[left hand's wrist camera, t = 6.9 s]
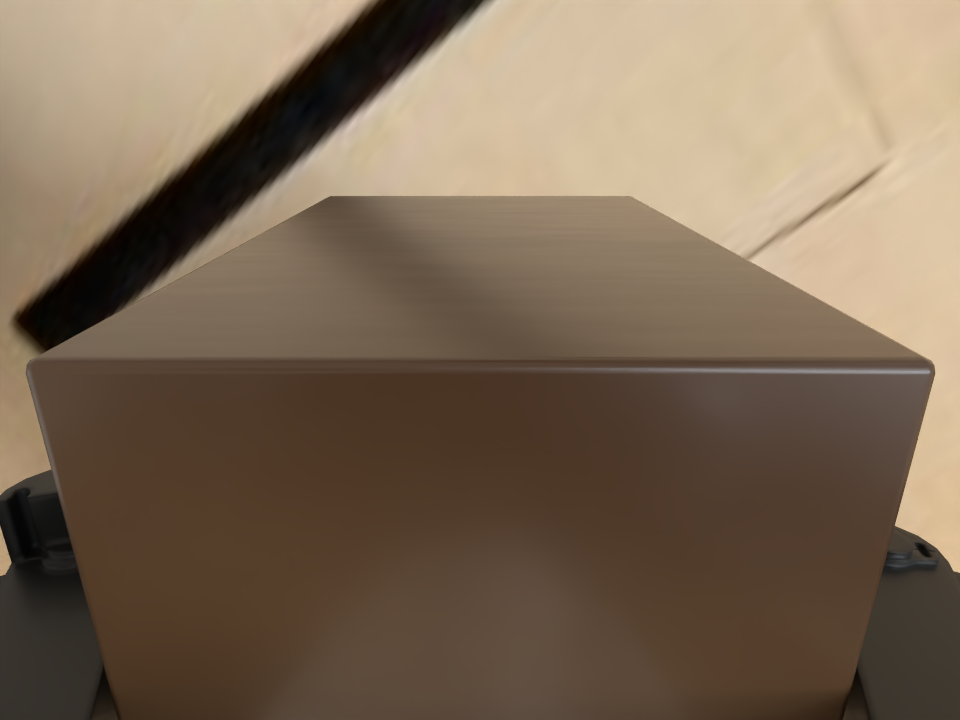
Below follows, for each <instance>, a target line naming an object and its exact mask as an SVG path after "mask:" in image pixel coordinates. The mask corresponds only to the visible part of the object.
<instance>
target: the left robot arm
mask: <svg viewBox="0 0 960 720" xmlns="http://www.w3.org/2000/svg"><path fill="white" fill-rule="evenodd" d="M0 526H1V529H2V533H3V536H4V539H5V542H6V546H7V549H8V552H9V555H10V559H11V562H12V564H11V565H10V567H9V569H8V571H7V573H6V575H3V576H0V720H118V717H117V714H116V710H115V706H114V702H113V699H112V695H111V691H110V687H109V684H108V680H107V676H106V672H105V669H104V665H103V661H102V657H101V653H100V650H99V646H98V642H97V638H96V635H95V631H94V627H93V623H92V620H91V616H90V612H89V608H88V605H87V601H86V597H85V593H84V590H83V586H82V582H81V578H80V574H79V571H78V567H77V563H76V559H75V556H74V552H73V548H72V544H71V541H70V537H69V533H68V529H67V526H66V522H65V518H64V514H63V511H62V507H61V503H60V499H59V495H58V492H57V488H56V484H55V480H54V477H53V473H52V470H49V471H46V472H43V473H40V474H38V475H35V476H32V477H30V478H27V479H25V480H23V481H21V482H19V483H18V484H16V485H14V486H12V487H10V488H9V489H7V490H5V491H4V492H3V493H2V494H1V495H0ZM843 720H960V573H958V572H954V571H953V570H952V568H951V566H950V564H949V562H948V561H947V560H946V559H945V558H944V556H943V555H942V554H941V553H940V552H939V551H938V549H937V548H935V547H934V546H932V545H931V544H929V543H928V542H926V541H925V540H923V539H922V538H920V537H919V536H917V535H915V534H912V533H910V532H908V531H905V530H903V529H901V528H898V527H896V526H894V530H893V533H892V537H891V541H890V545H889V548H888V552H887V556H886V560H885V563H884V567H883V571H882V575H881V578H880V582H879V586H878V590H877V593H876V597H875V601H874V605H873V608H872V612H871V616H870V620H869V623H868V627H867V631H866V635H865V638H864V642H863V646H862V650H861V653H860V657H859V661H858V665H857V668H856V672H855V676H854V679H853V683H852V687H851V691H850V694H849V698H848V702H847V706H846V709H845V713H844V717H843Z"/></svg>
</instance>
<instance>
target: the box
mask: <svg viewBox="0 0 960 720" xmlns="http://www.w3.org/2000/svg"><path fill="white" fill-rule="evenodd" d="M26 375H27V379H28V383H29V386H30V390H31V394H32V398H33V401H34V405H35V409H36V413H37V416H38V420H39V424H40V428H41V432H42V435H43V439H44V443H45V447H46V450H47V454H48V458H49V462H50V465H51V469H52V473H53V477H54V480H55V484H56V488H57V492H58V495H59V499H60V503H61V507H62V511H63V514H64V518H65V522H66V526H67V529H68V533H69V537H70V541H71V544H72V548H73V552H74V556H75V559H76V563H77V567H78V571H79V574H80V578H81V582H82V586H83V590H84V593H85V597H86V601H87V605H88V608H89V612H90V616H91V620H92V623H93V627H94V631H95V635H96V638H97V642H98V646H99V650H100V653H101V657H102V661H103V665H104V669H105V672H106V676H107V680H108V684H109V687H110V691H111V695H112V699H113V702H114V706H115V710H116V714H117V717H118V720H843V717H844V713H845V709H846V706H847V702H848V698H849V694H850V691H851V687H852V683H853V679H854V676H855V672H856V668H857V665H858V661H859V657H860V653H861V650H862V646H863V642H864V638H865V635H866V631H867V627H868V623H869V620H870V616H871V612H872V608H873V605H874V601H875V597H876V593H877V590H878V586H879V582H880V578H881V575H882V571H883V567H884V563H885V560H886V556H887V552H888V548H889V545H890V541H891V537H892V533H893V530H894V526H895V522H896V518H897V515H898V511H899V507H900V503H901V500H902V496H903V492H904V488H905V485H906V481H907V477H908V473H909V470H910V466H911V462H912V458H913V455H914V451H915V447H916V443H917V440H918V436H919V432H920V428H921V425H922V421H923V417H924V413H925V410H926V406H927V402H928V398H929V395H930V391H931V387H932V383H933V380H934V376H935V368H934V364H933V363H932V361H931V360H929V359H927V358H925V357H923V356H922V355H920V354H918V353H916V352H914V351H912V350H911V349H909V348H907V347H905V346H903V345H901V344H900V343H898V342H896V341H894V340H892V339H890V338H889V337H887V336H885V335H883V334H881V333H880V332H878V331H876V330H874V329H872V328H870V327H869V326H867V325H865V324H863V323H861V322H859V321H858V320H856V319H854V318H852V317H850V316H848V315H847V314H845V313H843V312H841V311H839V310H837V309H836V308H834V307H832V306H830V305H828V304H826V303H825V302H823V301H821V300H819V299H817V298H816V297H814V296H812V295H810V294H808V293H806V292H805V291H803V290H801V289H799V288H797V287H795V286H794V285H792V284H790V283H788V282H786V281H784V280H783V279H781V278H779V277H777V276H775V275H773V274H772V273H770V272H768V271H766V270H764V269H763V268H761V267H759V266H757V265H755V264H753V263H752V262H750V261H748V260H746V259H744V258H742V257H741V256H739V255H737V254H735V253H733V252H731V251H730V250H728V249H726V248H724V247H722V246H720V245H719V244H717V243H715V242H713V241H711V240H709V239H708V238H706V237H704V236H702V235H700V234H699V233H697V232H695V231H693V230H691V229H689V228H688V227H686V226H684V225H682V224H680V223H678V222H677V221H675V220H673V219H671V218H669V217H667V216H666V215H664V214H662V213H660V212H658V211H656V210H655V209H653V208H651V207H649V206H647V205H646V204H644V203H642V202H640V201H638V200H636V199H635V198H633V197H630V196H330V197H328V198H326V199H324V200H322V201H320V202H319V203H317V204H315V205H313V206H311V207H309V208H308V209H306V210H304V211H302V212H300V213H298V214H297V215H295V216H293V217H291V218H289V219H288V220H286V221H284V222H282V223H280V224H278V225H277V226H275V227H273V228H271V229H269V230H267V231H266V232H264V233H262V234H260V235H258V236H256V237H255V238H253V239H251V240H249V241H247V242H246V243H244V244H242V245H240V246H238V247H236V248H235V249H233V250H231V251H229V252H227V253H225V254H224V255H222V256H220V257H218V258H216V259H215V260H213V261H211V262H209V263H207V264H205V265H204V266H202V267H200V268H198V269H196V270H194V271H193V272H191V273H189V274H187V275H185V276H184V277H182V278H180V279H178V280H176V281H174V282H173V283H171V284H169V285H167V286H165V287H163V288H162V289H160V290H158V291H156V292H154V293H152V294H151V295H149V296H147V297H145V298H143V299H142V300H140V301H138V302H136V303H134V304H132V305H131V306H129V307H127V308H125V309H123V310H121V311H120V312H118V313H116V314H114V315H112V316H111V317H109V318H107V319H105V320H103V321H101V322H100V323H98V324H96V325H94V326H92V327H90V328H89V329H87V330H85V331H83V332H81V333H80V334H78V335H76V336H74V337H72V338H70V339H69V340H67V341H65V342H63V343H61V344H59V345H58V346H56V347H54V348H52V349H50V350H48V351H47V352H45V353H43V354H41V355H39V356H38V357H36V358H34V359H32V360H30V361H29V363H28V364H27V369H26Z"/></svg>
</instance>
